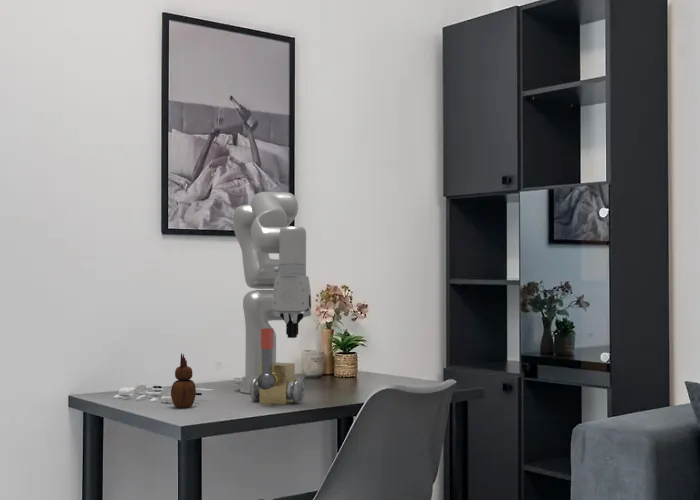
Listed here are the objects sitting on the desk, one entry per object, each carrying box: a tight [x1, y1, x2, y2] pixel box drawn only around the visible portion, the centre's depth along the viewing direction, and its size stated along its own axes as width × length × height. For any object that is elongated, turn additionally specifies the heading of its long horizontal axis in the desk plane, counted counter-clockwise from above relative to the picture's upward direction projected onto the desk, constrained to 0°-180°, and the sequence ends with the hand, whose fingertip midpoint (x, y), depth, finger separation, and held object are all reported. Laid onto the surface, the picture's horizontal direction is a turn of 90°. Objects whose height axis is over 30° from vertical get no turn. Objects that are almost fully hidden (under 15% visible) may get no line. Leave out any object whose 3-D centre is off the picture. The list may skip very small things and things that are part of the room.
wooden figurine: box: [170, 353, 197, 409], centre depth 246 cm, size 7×6×15 cm
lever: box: [257, 327, 276, 390], centre depth 249 cm, size 4×3×17 cm
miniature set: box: [112, 383, 214, 404], centre depth 261 cm, size 6×35×12 cm
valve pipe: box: [249, 361, 305, 406], centre depth 255 cm, size 14×10×11 cm
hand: (292, 337), depth 247 cm, fingers closed
